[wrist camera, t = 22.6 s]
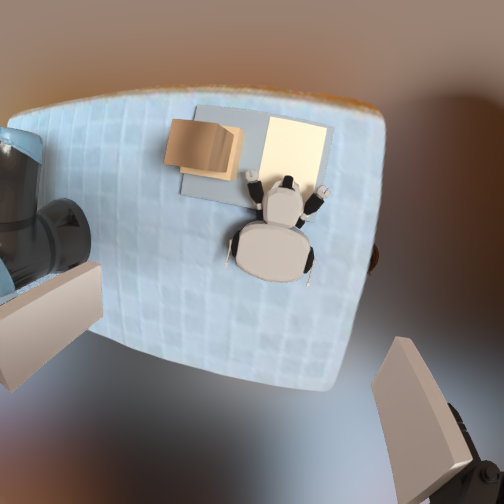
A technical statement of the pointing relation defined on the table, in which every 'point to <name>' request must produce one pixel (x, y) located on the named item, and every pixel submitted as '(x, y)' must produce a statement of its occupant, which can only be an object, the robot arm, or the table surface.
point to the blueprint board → (262, 155)
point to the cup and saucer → (373, 259)
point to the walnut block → (198, 145)
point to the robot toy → (276, 232)
